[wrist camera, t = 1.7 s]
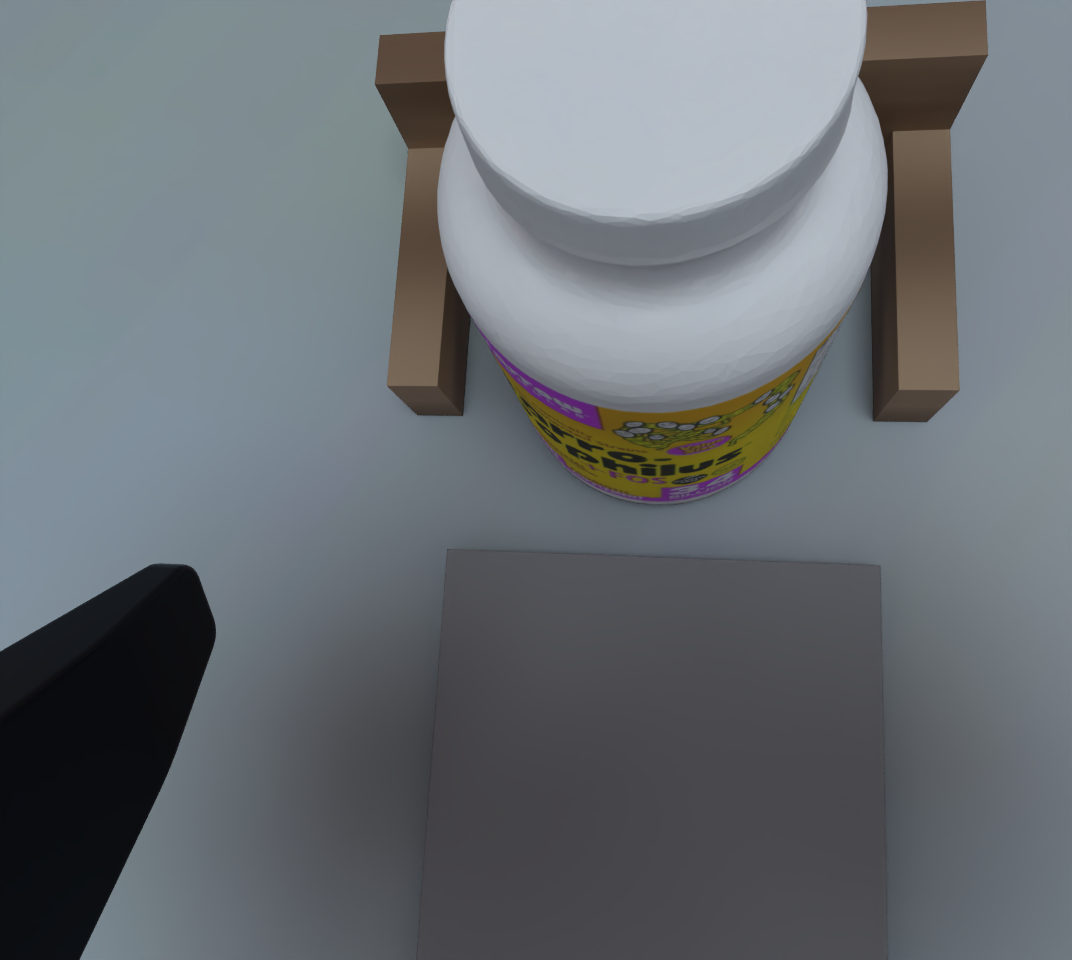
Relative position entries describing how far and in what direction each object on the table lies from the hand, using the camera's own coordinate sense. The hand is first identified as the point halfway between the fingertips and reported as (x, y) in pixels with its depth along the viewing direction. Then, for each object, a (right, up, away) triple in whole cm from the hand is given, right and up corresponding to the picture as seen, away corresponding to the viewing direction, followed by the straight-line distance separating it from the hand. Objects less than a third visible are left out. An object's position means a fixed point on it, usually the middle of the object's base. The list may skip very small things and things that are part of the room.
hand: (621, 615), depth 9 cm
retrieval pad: (+2, -5, +12) cm, 13 cm away
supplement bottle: (+2, +4, +14) cm, 14 cm away
